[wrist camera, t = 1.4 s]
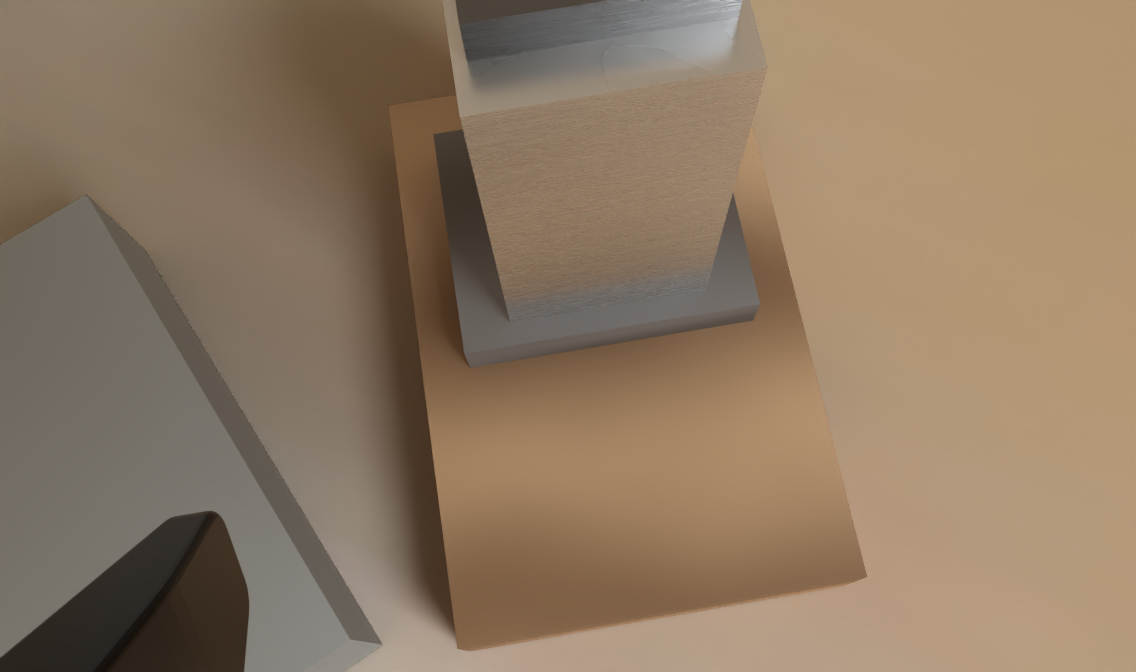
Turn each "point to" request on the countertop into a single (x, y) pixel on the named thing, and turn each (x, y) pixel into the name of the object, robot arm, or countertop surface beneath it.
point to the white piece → (604, 140)
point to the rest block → (139, 448)
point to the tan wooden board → (615, 423)
